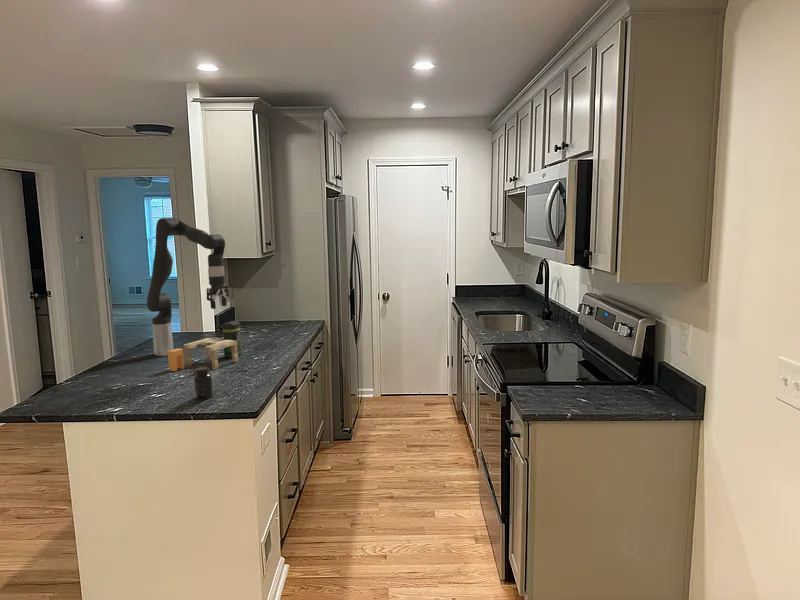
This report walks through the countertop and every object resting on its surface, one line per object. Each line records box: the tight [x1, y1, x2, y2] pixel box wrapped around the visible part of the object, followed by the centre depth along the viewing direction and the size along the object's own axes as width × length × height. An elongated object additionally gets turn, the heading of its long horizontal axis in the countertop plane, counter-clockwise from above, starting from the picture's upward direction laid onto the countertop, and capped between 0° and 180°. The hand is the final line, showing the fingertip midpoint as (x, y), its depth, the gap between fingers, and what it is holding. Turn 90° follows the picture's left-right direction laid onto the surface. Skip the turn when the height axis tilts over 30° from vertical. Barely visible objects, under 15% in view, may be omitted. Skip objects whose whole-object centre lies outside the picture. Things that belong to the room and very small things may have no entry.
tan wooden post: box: [167, 348, 186, 372], centre depth 259 cm, size 4×6×10 cm
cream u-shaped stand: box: [183, 337, 239, 370], centre depth 268 cm, size 20×16×11 cm
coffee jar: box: [222, 320, 243, 359], centre depth 282 cm, size 10×8×19 cm
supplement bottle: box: [193, 366, 214, 400], centre depth 215 cm, size 7×7×12 cm
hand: (218, 307), depth 267 cm, fingers open, 8 cm apart
